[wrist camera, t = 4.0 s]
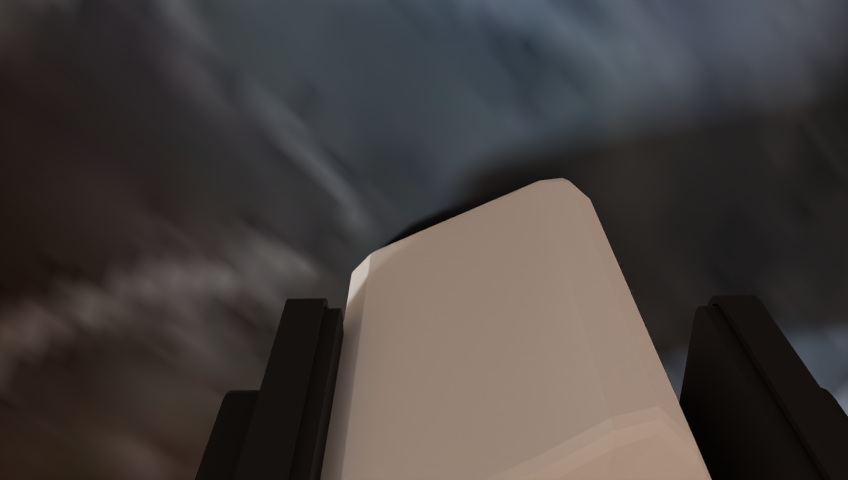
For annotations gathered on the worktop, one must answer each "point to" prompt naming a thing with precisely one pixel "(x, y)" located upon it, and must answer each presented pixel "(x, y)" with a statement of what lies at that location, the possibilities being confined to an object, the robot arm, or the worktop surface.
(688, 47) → the worktop surface
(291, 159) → the worktop surface
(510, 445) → the pepper shaker
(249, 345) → the worktop surface
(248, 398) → the robot arm
